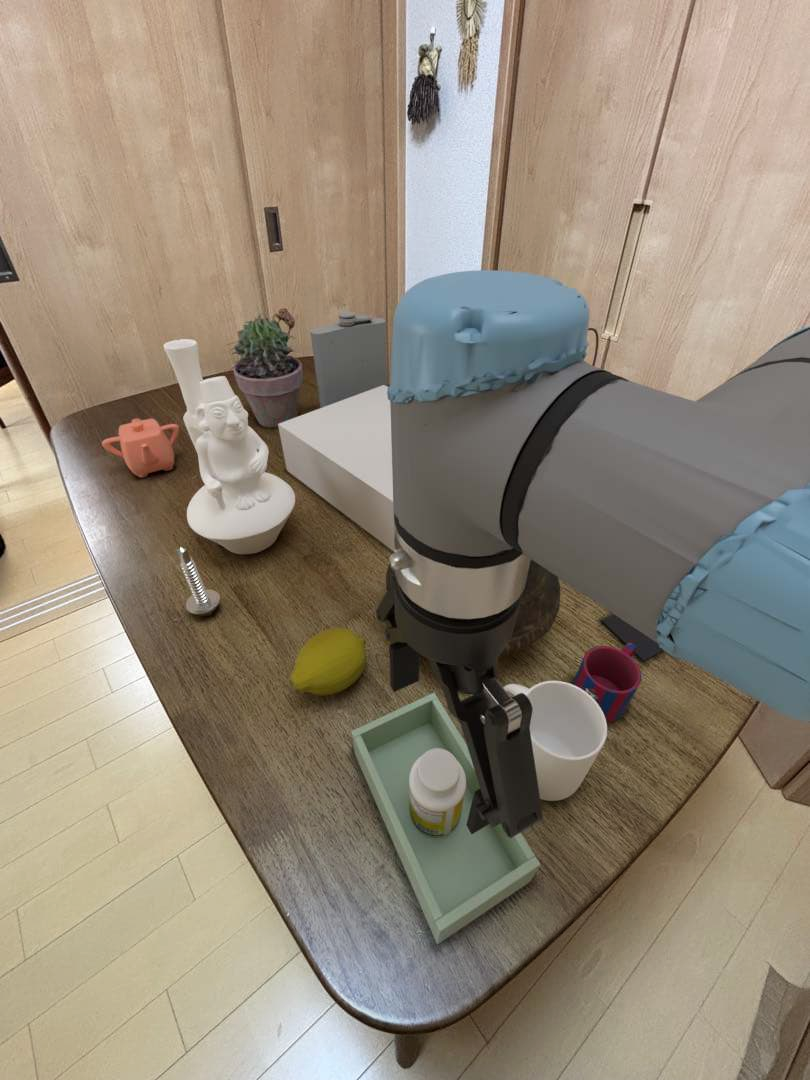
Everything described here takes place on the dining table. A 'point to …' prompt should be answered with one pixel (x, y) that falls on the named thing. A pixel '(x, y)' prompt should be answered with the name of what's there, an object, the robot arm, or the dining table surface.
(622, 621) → the coaster
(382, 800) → the bin
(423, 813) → the supplement bottle
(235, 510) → the white sculpted figure
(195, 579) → the screw
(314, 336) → the flask
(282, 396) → the potted plant
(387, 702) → the dining table surface
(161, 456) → the teapot
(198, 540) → the dining table surface
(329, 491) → the box
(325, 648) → the lemon
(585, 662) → the cup
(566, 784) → the mug
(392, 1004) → the dining table surface
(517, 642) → the ceramic pot
